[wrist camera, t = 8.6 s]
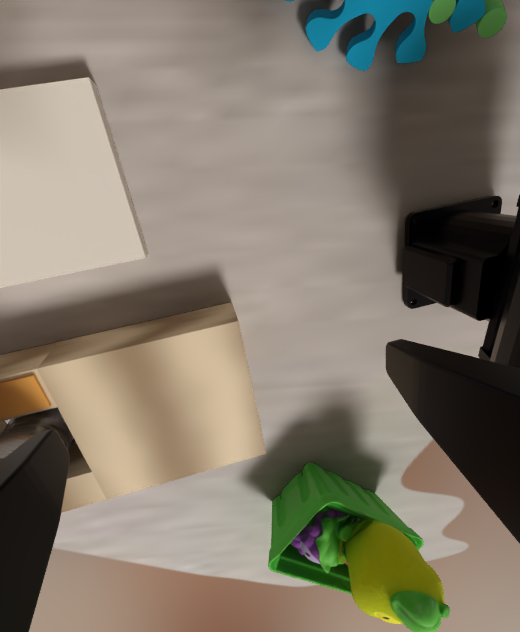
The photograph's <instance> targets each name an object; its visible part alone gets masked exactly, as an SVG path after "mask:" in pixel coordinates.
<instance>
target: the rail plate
mask: <svg viewBox="0 0 520 632" xmlns="http://www.w3.org/2000/svg"><path fill="white" fill-rule="evenodd" d="M56 407H58V409H59V411H60V413H61V415H62V417H63V419H64V421H65V422H66V424H67V426H68V428H69V430H70V432H71V434H72V435H73V437H74V439H75V441H76V443H77V444H73V445H70V447H69V449H68V452H69V455H70V464H69V470H68V476H67V482H66V488H65V493H64V499H63V505H62V511H61V513H62V512H65V511H69V510H72V509H76V508H79V507H83V506H86V505H89V504H93V503H96V502H100V501H103V500H107V499H110V498H114V497H117V496H121V495H124V494H128V493H131V492H135V491H138V490H142V489H145V488H149V487H152V486H155V485H159V484H162V483H166V482H169V481H173V480H176V479H180V478H183V477H187V476H190V475H194V474H197V473H201V472H204V471H208V470H211V469H215V468H218V467H221V466H225V465H228V464H232V463H235V462H239V461H242V460H246V459H249V458H253V457H256V456H260V455H263V454H266V449H265V445H264V440H263V435H262V430H261V426H260V421H259V416H258V412H257V407H256V402H255V397H254V393H253V388H252V383H251V379H250V374H249V369H248V365H247V360H246V355H245V350H244V346H243V341H242V336H241V332H240V327H239V322H238V319H237V316H236V313H235V310H234V308H233V305H232V302H230V303H226V304H222V305H217V306H213V307H208V308H204V309H200V310H195V311H191V312H187V313H182V314H178V315H174V316H169V317H165V318H160V319H156V320H152V321H147V322H143V323H139V324H134V325H130V326H125V327H121V328H117V329H112V330H108V331H104V332H99V333H95V334H91V335H86V336H82V337H77V338H73V339H69V340H64V341H60V342H56V343H51V344H47V345H42V346H38V347H34V348H29V349H25V350H21V351H16V352H12V353H7V354H3V355H0V434H1V432H2V431H3V429H4V428H5V427H6V423H5V422H4V420H8V419H12V418H16V417H20V416H24V415H28V414H32V413H36V412H40V411H44V410H48V409H52V408H56Z"/></svg>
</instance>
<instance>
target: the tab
mask: <svg viewBox="0 0 520 632" xmlns="http://www.w3.org/2000/svg"><path fill="white" fill-rule="evenodd" d="M147 255H148V251H147V248H146V245H145V241H144V238H143V235H142V232H141V228H140V225H139V222H138V219H137V216H136V212H135V209H134V206H133V203H132V199H131V196H130V193H129V190H128V187H127V183H126V180H125V177H124V174H123V170H122V167H121V164H120V161H119V158H118V154H117V151H116V148H115V145H114V141H113V138H112V135H111V132H110V129H109V125H108V122H107V119H106V116H105V112H104V109H103V106H102V103H101V100H100V96H99V93H98V90H97V87H96V84H95V83H94V82H93V81H92V80H91V79H90V78H89V77H87V78H80V79H72V80H65V81H58V82H51V83H44V84H37V85H29V86H22V87H15V88H8V89H1V90H0V288H2V287H7V286H12V285H17V284H22V283H27V282H31V281H36V280H41V279H46V278H51V277H56V276H60V275H65V274H70V273H75V272H80V271H85V270H90V269H94V268H99V267H104V266H109V265H114V264H119V263H124V262H128V261H133V260H138V259H143V258H146V256H147Z"/></svg>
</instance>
